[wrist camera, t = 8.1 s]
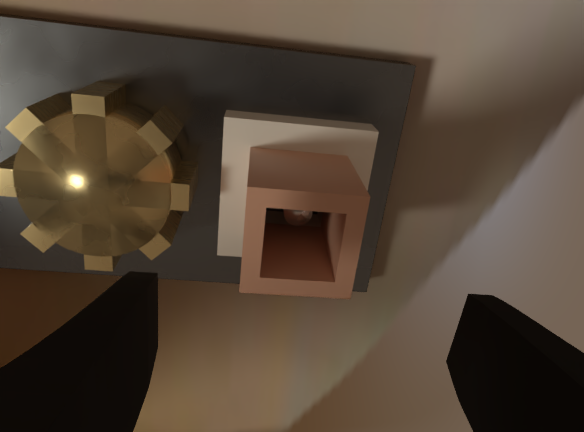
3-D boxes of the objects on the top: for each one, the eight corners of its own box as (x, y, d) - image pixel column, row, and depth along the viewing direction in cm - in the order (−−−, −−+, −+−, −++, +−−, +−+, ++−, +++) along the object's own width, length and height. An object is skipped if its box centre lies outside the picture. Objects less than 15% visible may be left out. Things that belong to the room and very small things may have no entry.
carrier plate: (-138, 245, 20) (-227, 299, 16) (-216, -12, 16) (-359, -17, 12) (362, 280, 22) (381, 334, 18) (408, 62, 18) (445, 77, 14)
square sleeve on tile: (219, 241, 20) (206, 316, 15) (226, 109, 17) (213, 149, 13) (348, 250, 20) (374, 325, 16) (371, 123, 18) (411, 167, 13)
